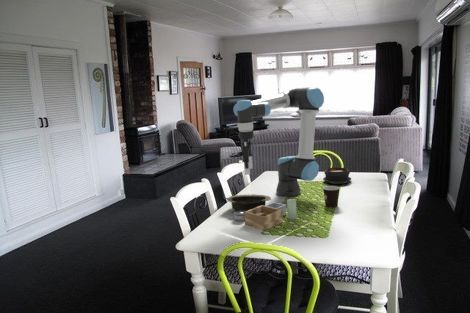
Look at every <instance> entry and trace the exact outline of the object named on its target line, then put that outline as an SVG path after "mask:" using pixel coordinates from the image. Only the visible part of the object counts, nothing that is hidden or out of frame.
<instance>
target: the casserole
mask: <svg viewBox="0 0 470 313" xmlns="http://www.w3.org/2000/svg"><path fill="white" fill-rule="evenodd" d="M323 173H324V177H323V178H322V179H323V181H324V182H326V183H327V182H328V183H329V184H332V185H333V184H337V185H339V184H340V185H341V184H348V183H349V182H350V181H351V180H352V178H351V177H350V174H351V172H350V171H349V169H348V168H347V167H328V168H326V169H325V170H324V172H323Z"/></svg>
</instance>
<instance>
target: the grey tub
mask: <svg viewBox="0 0 470 313" xmlns="http://www.w3.org/2000/svg"><path fill="white" fill-rule="evenodd" d="M265 206H267V207H272V208H276V209H281V210H282V215H283V217H284V216H286V215H287V204H286V203H285V204H283V203H280V202H274V201H273V202H271V203H268V204H265Z"/></svg>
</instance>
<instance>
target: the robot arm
mask: <svg viewBox="0 0 470 313" xmlns="http://www.w3.org/2000/svg"><path fill="white" fill-rule="evenodd" d="M324 102H325V96H324V94H323V92H322V90H321V89H320V88H318V87H315V86H314V87H312V86H308V87H296V88H292V89H289V90H286V91H283V92H282V91H281V92H280V93H278V94H277V95H272V96H267V97H262V98H259V99H255V100H254V99H253V100H251V99H243V100H237V101H236V104H234V106H233V110H232V111H233V114H234V115H235V116H236V117H237V125H236V127H238V131H239V132H238V139H240V140H243V142H242V151H243V152H242V155H243V159H242V160H241V161H242V163H243V169H244V170H243V171H244V175H245V176H246V175H251V169H253V157H254V154H253V153H252V142H251V140H252V139H254V138H255V136H254V131H253V130H254V122H253V121H254V120H253V119H256V118H261V117H262V118H265V117H267V116H269V115H270V113H271V111H272V110H273V111H274V110H277V109H280V108H281V109H287V108H288V109H289V108H298V111H299V113H300V121H299V122H300V124H299V137H298V138H299V139H298V151H297V152H298V153H297V154H296V155H288V156H283V157H280V158H278V159H277V176H278V182H277V185H276V190H275V191H276V192H275V194H276V195H277V196H280V197H294V196H295V197H296V196H299V195H300V194H301V187H300V185H299V180H301V181H305V182H310V181H314V180H315V179H316V178H317V176H318V174H319V172H320V166H319V164H318V162H316V157H315V156H314V145H315V133H316V130H315V129H316V120H317V118H316V116H317V114H318V112H320V108H321V107H322V106H323V105H324V104H325V103H324Z"/></svg>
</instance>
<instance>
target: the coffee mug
mask: <svg viewBox="0 0 470 313" xmlns="http://www.w3.org/2000/svg"><path fill="white" fill-rule="evenodd" d="M322 190H323V191H322V192H323V197H324V204H325V207H327V208H330V207H331V209H332V208H338V205H339V195H340V187H339V186H336V185H326V186H323V187H322Z"/></svg>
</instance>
